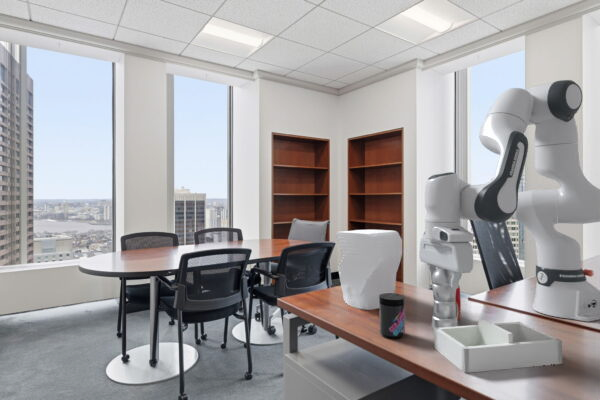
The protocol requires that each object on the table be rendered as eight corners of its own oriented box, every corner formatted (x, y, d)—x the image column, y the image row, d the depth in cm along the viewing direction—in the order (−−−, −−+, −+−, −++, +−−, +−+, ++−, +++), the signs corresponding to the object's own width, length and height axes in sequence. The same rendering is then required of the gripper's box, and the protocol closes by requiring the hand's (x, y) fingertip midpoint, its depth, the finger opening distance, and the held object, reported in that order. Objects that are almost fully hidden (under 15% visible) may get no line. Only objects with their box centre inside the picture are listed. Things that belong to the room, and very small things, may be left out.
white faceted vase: (328, 302, 122) (326, 231, 123) (382, 291, 136) (381, 227, 137) (368, 319, 104) (367, 235, 105) (426, 304, 118) (425, 230, 119)
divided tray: (519, 341, 86) (519, 313, 86) (562, 363, 74) (561, 331, 74) (434, 348, 83) (433, 319, 83) (464, 372, 71) (464, 339, 71)
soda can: (463, 324, 98) (462, 283, 99) (437, 323, 100) (437, 282, 100) (457, 316, 105) (456, 277, 105) (433, 315, 107) (432, 277, 107)
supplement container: (384, 340, 88) (383, 300, 88) (376, 330, 95) (375, 293, 95) (409, 339, 89) (408, 299, 89) (400, 329, 95) (399, 292, 96)
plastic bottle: (427, 330, 95) (425, 258, 95) (450, 328, 95) (449, 257, 95) (438, 339, 88) (436, 262, 88) (463, 338, 89) (461, 261, 89)
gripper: (413, 230, 102) (414, 276, 101) (453, 235, 81) (454, 293, 81) (433, 229, 103) (433, 275, 102) (477, 235, 82) (478, 292, 82)
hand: (443, 283), depth 91 cm, fingers open, 8 cm apart
